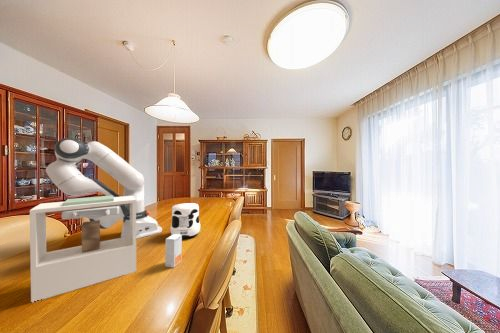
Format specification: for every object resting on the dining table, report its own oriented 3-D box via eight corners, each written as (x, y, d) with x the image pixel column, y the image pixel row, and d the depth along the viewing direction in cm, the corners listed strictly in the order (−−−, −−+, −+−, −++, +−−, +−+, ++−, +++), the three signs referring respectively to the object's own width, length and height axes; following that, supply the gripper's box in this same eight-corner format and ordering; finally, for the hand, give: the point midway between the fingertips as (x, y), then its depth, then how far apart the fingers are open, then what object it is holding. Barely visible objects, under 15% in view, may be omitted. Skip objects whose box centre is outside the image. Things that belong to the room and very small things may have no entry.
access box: (133, 259, 85) (132, 193, 85) (136, 271, 76) (135, 197, 75) (41, 283, 68) (40, 200, 68) (31, 302, 59) (29, 207, 58)
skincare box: (174, 268, 78) (174, 239, 78) (165, 266, 79) (165, 238, 79) (182, 260, 84) (182, 234, 84) (173, 259, 85) (173, 233, 85)
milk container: (190, 228, 127) (190, 201, 127) (206, 234, 116) (206, 205, 116) (165, 235, 113) (164, 206, 113) (180, 243, 102) (180, 210, 102)
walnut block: (99, 244, 75) (99, 220, 75) (99, 249, 71) (99, 223, 71) (83, 248, 72) (83, 222, 72) (81, 253, 68) (81, 225, 68)
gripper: (64, 204, 86) (57, 210, 75) (118, 201, 99) (119, 205, 88) (64, 218, 86) (57, 226, 75) (118, 213, 99) (119, 219, 88)
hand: (91, 215), depth 81 cm, fingers open, 8 cm apart
